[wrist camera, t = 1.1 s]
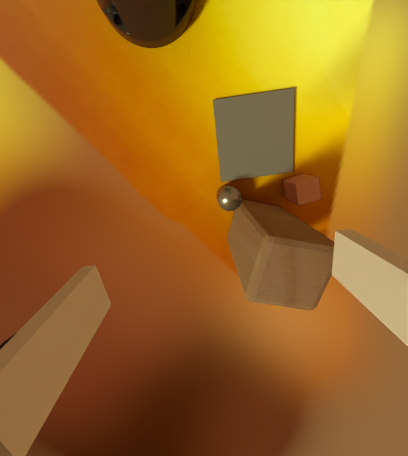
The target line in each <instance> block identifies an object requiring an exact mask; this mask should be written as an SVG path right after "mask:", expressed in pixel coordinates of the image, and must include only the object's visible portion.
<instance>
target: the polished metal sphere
mask: <svg viewBox="0 0 408 456" xmlns="http://www.w3.org/2000/svg"><path fill="white" fill-rule="evenodd" d="M217 200H218V202H219V204H220V206H221V207H222V208H223V209H224V210H226V211H233V210H236V209H237V208H238V207H239V206H240V205H241V203H242V195H241V193H240V192H239V191H238V190H237V189H236V188H235V187H234V186H232V185H223V186H222V187H220V188H219V190H218V192H217Z"/></svg>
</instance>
